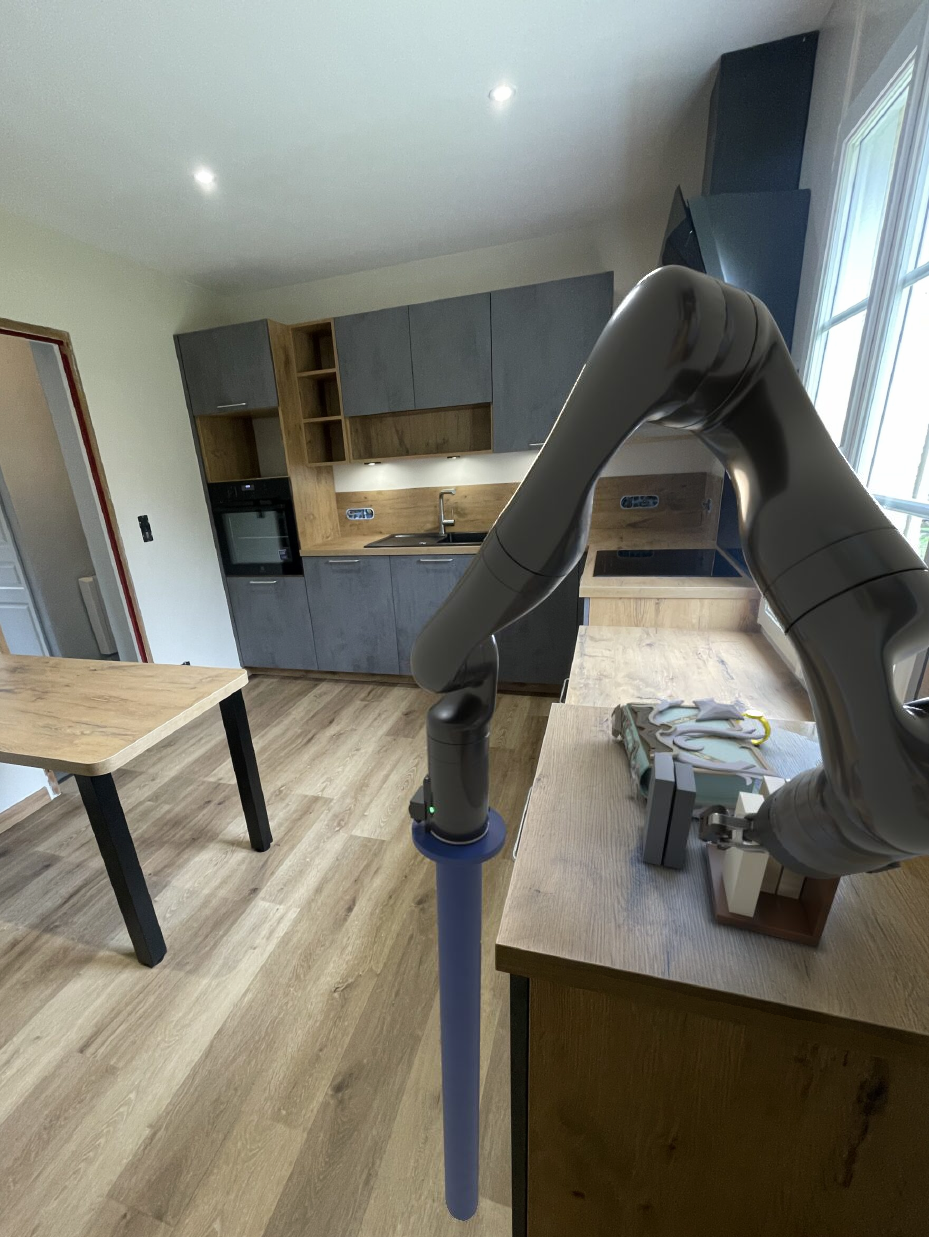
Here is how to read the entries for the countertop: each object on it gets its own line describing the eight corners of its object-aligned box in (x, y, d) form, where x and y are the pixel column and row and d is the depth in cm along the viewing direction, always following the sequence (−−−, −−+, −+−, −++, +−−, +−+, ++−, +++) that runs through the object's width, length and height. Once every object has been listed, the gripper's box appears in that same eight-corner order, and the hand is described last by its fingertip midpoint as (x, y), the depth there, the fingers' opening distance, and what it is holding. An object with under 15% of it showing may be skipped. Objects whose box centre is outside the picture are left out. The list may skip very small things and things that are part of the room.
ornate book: (605, 733, 106) (630, 821, 79) (610, 689, 103) (637, 763, 75) (728, 741, 102) (800, 836, 74) (737, 695, 99) (815, 776, 71)
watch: (769, 745, 98) (776, 717, 96) (761, 750, 97) (768, 721, 95) (737, 733, 103) (743, 705, 101) (729, 737, 101) (734, 709, 99)
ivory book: (729, 911, 61) (749, 826, 57) (721, 871, 67) (739, 791, 63) (752, 917, 60) (775, 831, 56) (743, 875, 66) (762, 795, 62)
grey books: (642, 861, 71) (655, 778, 66) (643, 830, 77) (654, 752, 72) (682, 869, 69) (697, 785, 64) (679, 837, 75) (693, 757, 71)
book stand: (715, 922, 61) (736, 829, 56) (704, 850, 73) (721, 767, 68) (818, 947, 58) (850, 849, 53) (790, 867, 69) (814, 780, 64)
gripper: (943, 790, 39) (849, 825, 53) (724, 759, 44) (692, 799, 58) (955, 898, 36) (853, 905, 50) (721, 852, 41) (688, 870, 55)
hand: (767, 848), depth 54 cm, fingers open, 8 cm apart
